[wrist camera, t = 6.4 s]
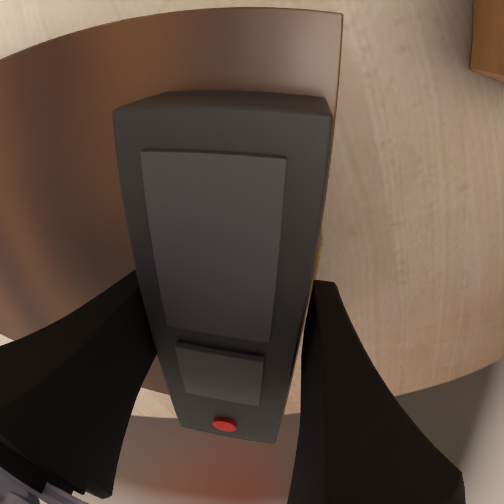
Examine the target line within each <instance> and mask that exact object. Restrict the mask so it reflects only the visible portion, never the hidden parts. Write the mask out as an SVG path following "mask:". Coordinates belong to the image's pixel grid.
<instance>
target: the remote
mask: <svg viewBox="0 0 504 504" xmlns="http://www.w3.org/2000/svg"><path fill="white" fill-rule="evenodd" d="M112 117H113V128H114V138H115V147H116V156H117V164H118V172H119V179H120V186H121V193H122V199H123V206H124V212H125V217H126V223H127V229H128V234H129V239H130V245H131V250H132V255H133V259H134V264H135V269H136V273H137V278H138V282H139V287H140V291H141V295H142V299H143V303H144V307H145V311H146V315H147V319H148V323H149V327H150V331H151V334H152V338H153V341H154V345H155V348H156V352H157V355H158V359H159V362H160V365H161V369H162V372H163V375H164V378H165V382H166V385H167V388H168V391H169V394H170V397H171V400H172V403H173V406H174V409H175V412H176V414H177V417H178V420H179V423H180V425H181V426H182V427H186V428H190V429H194V430H199V431H204V432H208V433H212V434H217V435H223V436H228V437H233V438H239V439H244V440H250V441H257V442H264V443H271V444H274V443H276V440H277V436H278V432H279V428H280V424H281V420H282V416H283V412H284V408H285V404H286V399H287V395H288V391H289V386H290V382H291V378H292V373H293V369H294V364H295V359H296V355H297V350H298V345H299V340H300V336H301V331H302V326H303V321H304V316H305V310H306V305H307V300H308V294H309V289H310V284H311V278H312V272H313V266H314V261H315V255H316V249H317V242H318V236H319V230H320V223H321V217H322V210H323V203H324V196H325V189H326V181H327V174H328V166H329V158H330V149H331V141H332V132H333V123H334V118H333V115H332V112H331V110H330V107H329V105H328V102H327V100H326V98H324V97H316V96H307V95H297V94H286V93H272V92H255V91H221V90H200V91H167V92H164V93H160V94H157V95H154V96H150V97H147V98H144V99H141V100H138V101H135V102H132V103H129V104H126V105H123V106H120V107H118V108H115V109H114V110H113V112H112Z"/></svg>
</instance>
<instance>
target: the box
mask: <svg viewBox="0 0 504 504" xmlns="http://www.w3.org/2000/svg"><path fill="white" fill-rule="evenodd" d="M342 31H343V14H341V13H335V12H327V11H318V10H307V9H294V8H275V7H229V8H209V9H196V10H185V11H176V12H168V13H161V14H154V15H148V16H142V17H136V18H131V19H126V20H121V21H116V22H112V23H107V24H103V25H99V26H95V27H91V28H88V29H84V30H80V31H77V32H73V33H70V34H67V35H64V36H60V37H57V38H54V39H51V40H48V41H46V42H43V43H40V44H37V45H34V46H32V47H29V48H27V49H24V50H22V51H19V52H17V53H14V54H12V55H10V56H7V57H5V58H3V59H0V334H2V335H4V336H6V337H8V338H10V339H12V340H14V341H15V340H18V339H20V338H22V337H25V336H27V335H29V334H31V333H33V332H35V331H38V330H40V329H42V328H44V327H46V326H48V325H50V324H52V323H54V322H56V321H57V320H59V319H61V318H63V317H65V316H66V315H68V314H70V313H71V312H73V311H75V310H76V309H78V308H80V307H81V306H83V305H84V304H86V303H87V302H89V301H90V300H92V299H93V298H95V297H96V296H98V295H99V294H101V293H102V292H104V291H105V290H107V289H108V288H109V287H111V286H112V285H114V284H115V283H116V282H118V281H119V280H121V279H122V278H124V277H125V276H126V275H128V274H129V273H131V272H132V271H133V270H135V264H134V259H133V255H132V250H131V245H130V239H129V234H128V229H127V223H126V217H125V212H124V206H123V199H122V193H121V186H120V179H119V172H118V164H117V156H116V147H115V138H114V128H113V117H112V112H113V110H114V109H115V108H118V107H120V106H123V105H126V104H129V103H132V102H135V101H138V100H141V99H144V98H147V97H150V96H154V95H157V94H160V93H164V92H167V91H200V90H221V91H255V92H272V93H286V94H297V95H307V96H316V97H324V98H326V100H327V102H328V105H329V107H330V110H331V112H332V115H333V118H334V123H333V132H332V141H331V149H330V158H329V166H328V174H327V181H326V189H325V196H324V203H323V210H322V217H321V223H320V230H319V236H318V242H317V249H316V255H315V261H314V266H313V272H312V278H311V284H310V289H309V294H308V300H307V305H306V310H305V316H306V311H307V307H309V302H310V297H311V292H312V286H313V281H314V280H315V279H316V274H317V268H318V263H319V257H320V251H321V246H322V226H321V225H322V219H323V212H324V206H325V199H326V192H327V184H328V177H329V169H330V161H331V153H332V145H333V136H334V127H335V118H336V108H337V98H338V87H339V75H340V62H341V48H342ZM305 316H304V321H305ZM304 321H303V326H304ZM303 326H302V331H303ZM302 331H301V336H302ZM301 336H300V340H301ZM300 340H299V345H300ZM299 345H298V350H299ZM298 350H297V355H298ZM297 355H296V359H297ZM296 359H295V364H296ZM295 364H294V368H295ZM293 373H294V369H293ZM293 373H292V377H293ZM291 381H292V378H291ZM290 386H291V382H290ZM290 386H289V390H290ZM141 387H142V388H145V389H149V390H153V391H156V392H160V393H164V394H168V395H170V394H169V391H168V388H167V385H166V382H165V378H164V375H163V372H162V369H161V365H160V362H159V359H158V355H156V357H155V359H154V361H153V363H152V365H151V367H150V369H149V371H148V374H147V376H146V378H145V380H144V382H143V384H142V386H141ZM288 394H289V391H288ZM287 398H288V395H287ZM286 403H287V399H286ZM285 407H286V404H285ZM284 411H285V408H284ZM283 415H284V412H283Z"/></svg>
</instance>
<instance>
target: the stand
mask: <svg viewBox="0 0 504 504" xmlns="http://www.w3.org/2000/svg"><path fill="white" fill-rule="evenodd" d="M470 69H471V70H472V71H475V72H477V73H480V74H483V75H485V76H488V77H490V78H493V79H495V80H498V81H500V82H502V83H504V0H474V14H473V39H472V53H471V64H470Z"/></svg>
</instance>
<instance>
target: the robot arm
mask: <svg viewBox="0 0 504 504" xmlns="http://www.w3.org/2000/svg"><path fill="white" fill-rule="evenodd" d="M156 355H157V352H156V348H155V345H154V341H153V338H152V334H151V331H150V327H149V323H148V319H147V315H146V311H145V307H144V303H143V299H142V295H141V291H140V287H139V282H138V278H137V273H136V269H135V270H133V271H132V272H131V273H129V274H128V275H126V276H125V277H124V278H122V279H121V280H119V281H118V282H116V283H115V284H114V285H112V286H111V287H109V288H108V289H107V290H105V291H104V292H102V293H101V294H99V295H98V296H96V297H95V298H93V299H92V300H90V301H89V302H87V303H86V304H84V305H83V306H81V307H80V308H78V309H76V310H75V311H73V312H71V313H70V314H68V315H66V316H65V317H63V318H61V319H59V320H57V321H56V322H54V323H52V324H50V325H48V326H46V327H44V328H42V329H40V330H38V331H35V332H33V333H31V334H29V335H27V336H25V337H22V338H20V339H18V340H15V341H13V342H10V343H7V344H5V345H2V346H0V504H40V502H39V499H38V498H40V499H41V500H43V501H44V502H46V503H48V504H88V503H86V502H84V501H82V500H80V499H78V498H76V497H74V496H72V492H73V490H74V491H76V492H78V493H80V494H82V495H84V494H85V491H86V492H88V493H90V494H92V495H94V496H97V497H99V498H101V499H104V498H108V497H110V496H112V491H113V485H114V478H115V474H116V469H117V463H118V459H119V455H120V451H121V447H122V443H123V439H124V436H125V432H126V429H127V425H128V422H129V419H130V416H131V413H132V410H133V407H134V404H135V401H136V398H137V395H138V393H139V391H140V388H141V386H142V384H143V382H144V380H145V378H146V376H147V374H148V371H149V369H150V367H151V365H152V363H153V361H154V359H155V357H156ZM287 504H466V503H465V487H464V482H463V477H462V472H461V471H460V470H459V469H458V468H457V467H456V466H454V464H452V463H451V462H450V461H449V460H448V459H447V458H446V457H445V456H444V455H443V454H442V453H441V452H440V451H439V450H438V449H437V448H436V447H435V446H434V445H433V444H432V443H431V442H430V441H429V440H428V439H427V437H426V436H425V435H424V434H423V433H422V432H421V431H420V430H419V428H418V427H417V426H416V424H415V423H414V422H413V421H412V419H411V418H410V417H409V416H408V415H407V413H406V412H405V411H404V409H403V408H402V407H401V406H400V404H399V403H398V402H397V400H396V399H395V397H394V396H393V394H392V393H391V392H390V390H389V389H388V387H387V386H386V384H385V383H384V381H383V380H382V378H381V377H380V375H379V373H378V372H377V370H376V368H375V367H374V365H373V363H372V362H371V360H370V358H369V356H368V354H367V353H366V351H365V349H364V347H363V345H362V343H361V341H360V339H359V337H358V335H357V333H356V331H355V329H354V327H353V325H352V323H351V321H350V318H349V316H348V314H347V312H346V309H345V307H344V305H343V302H342V300H341V297H340V294H339V291H338V289H337V286H336V284H335V283H334V282H329V281H321V280H314V281H313V286H312V292H311V297H310V302H309V307H308V312H307V317H306V322H305V327H304V336H303V345H302V354H301V416H300V429H299V437H298V443H297V450H296V457H295V463H294V469H293V475H292V481H291V487H290V492H289V497H288V502H287Z"/></svg>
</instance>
